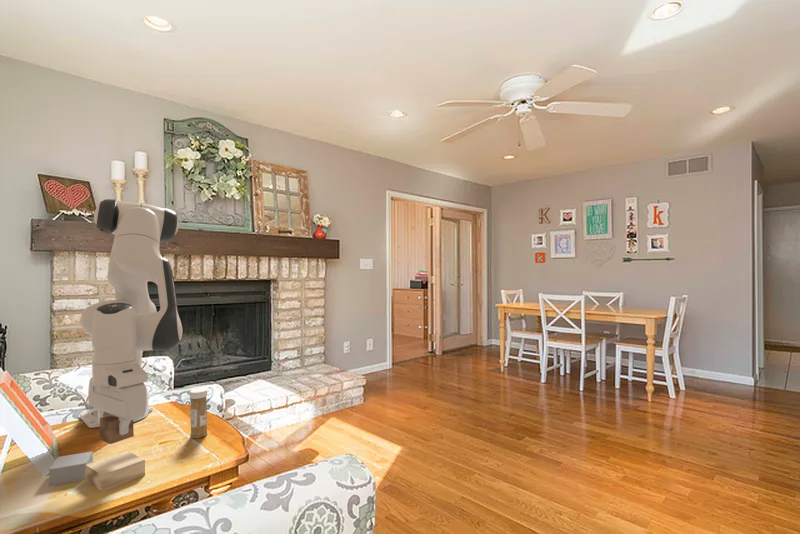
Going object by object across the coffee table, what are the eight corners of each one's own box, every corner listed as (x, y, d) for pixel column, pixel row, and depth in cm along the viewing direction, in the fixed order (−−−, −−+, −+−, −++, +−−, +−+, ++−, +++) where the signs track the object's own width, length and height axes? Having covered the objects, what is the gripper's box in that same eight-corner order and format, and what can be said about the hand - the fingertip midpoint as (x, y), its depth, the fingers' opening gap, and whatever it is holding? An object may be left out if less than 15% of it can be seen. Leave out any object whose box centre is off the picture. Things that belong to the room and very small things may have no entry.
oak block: (85, 481, 100) (85, 464, 100) (127, 466, 107) (127, 450, 107) (102, 493, 95) (102, 475, 95) (145, 476, 102) (145, 459, 102)
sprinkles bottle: (208, 436, 125) (208, 390, 125) (191, 440, 122) (190, 393, 122) (205, 431, 129) (205, 386, 129) (189, 434, 126) (188, 389, 126)
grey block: (57, 473, 104) (57, 456, 104) (92, 467, 107) (92, 451, 107) (49, 486, 98) (49, 469, 98) (86, 479, 101) (86, 463, 101)
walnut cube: (100, 439, 101) (99, 418, 100) (123, 432, 105) (122, 411, 105) (110, 444, 98) (109, 422, 98) (133, 436, 102) (133, 415, 102)
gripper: (79, 369, 104) (80, 426, 104) (122, 382, 93) (123, 445, 93) (108, 364, 109) (109, 418, 109) (151, 375, 98) (152, 435, 99)
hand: (116, 430), depth 101 cm, fingers closed on walnut cube, 5 cm apart
